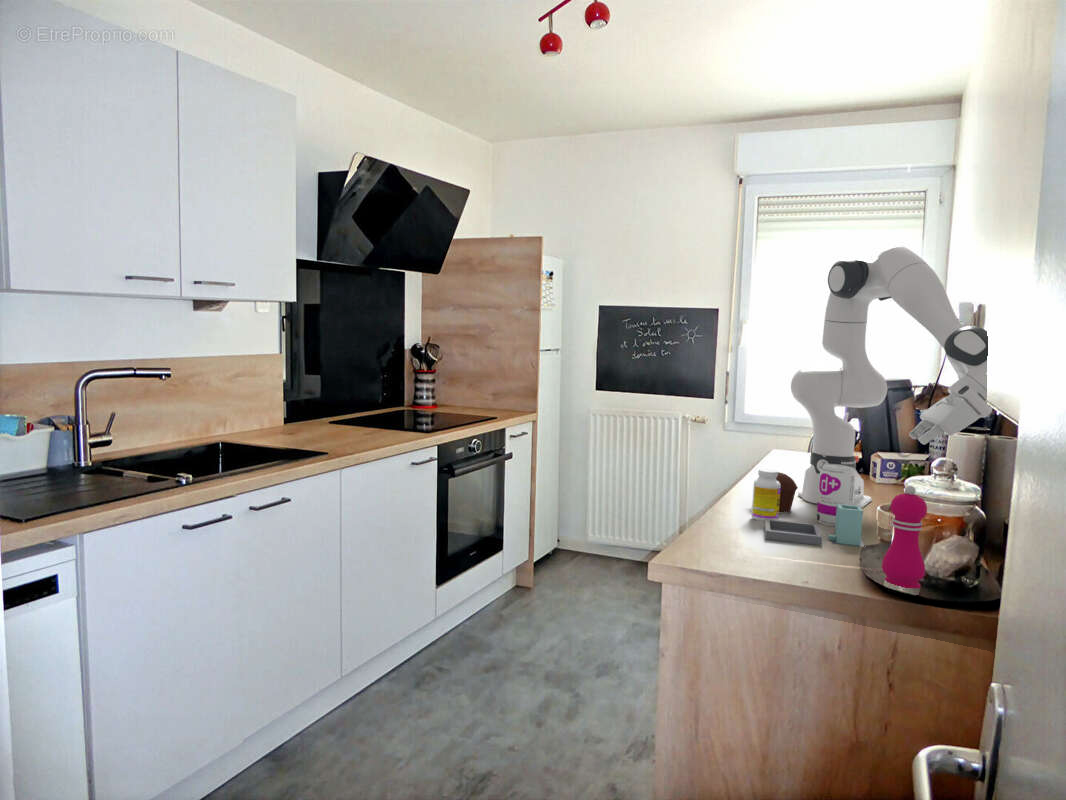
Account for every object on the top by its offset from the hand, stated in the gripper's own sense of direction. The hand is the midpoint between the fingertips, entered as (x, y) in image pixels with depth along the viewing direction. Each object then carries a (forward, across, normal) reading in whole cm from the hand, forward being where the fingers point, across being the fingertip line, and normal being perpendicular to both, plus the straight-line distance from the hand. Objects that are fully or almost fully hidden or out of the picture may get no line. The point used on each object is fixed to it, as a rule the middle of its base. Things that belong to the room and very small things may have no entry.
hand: (915, 439), depth 163 cm
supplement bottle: (+39, -15, -4) cm, 42 cm away
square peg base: (+26, 0, +9) cm, 28 cm away
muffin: (+37, -30, -2) cm, 48 cm away
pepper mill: (+23, +32, +14) cm, 41 cm away
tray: (+35, +1, 0) cm, 35 cm away
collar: (+26, 0, +9) cm, 28 cm away
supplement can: (+28, -18, +8) cm, 34 cm away
